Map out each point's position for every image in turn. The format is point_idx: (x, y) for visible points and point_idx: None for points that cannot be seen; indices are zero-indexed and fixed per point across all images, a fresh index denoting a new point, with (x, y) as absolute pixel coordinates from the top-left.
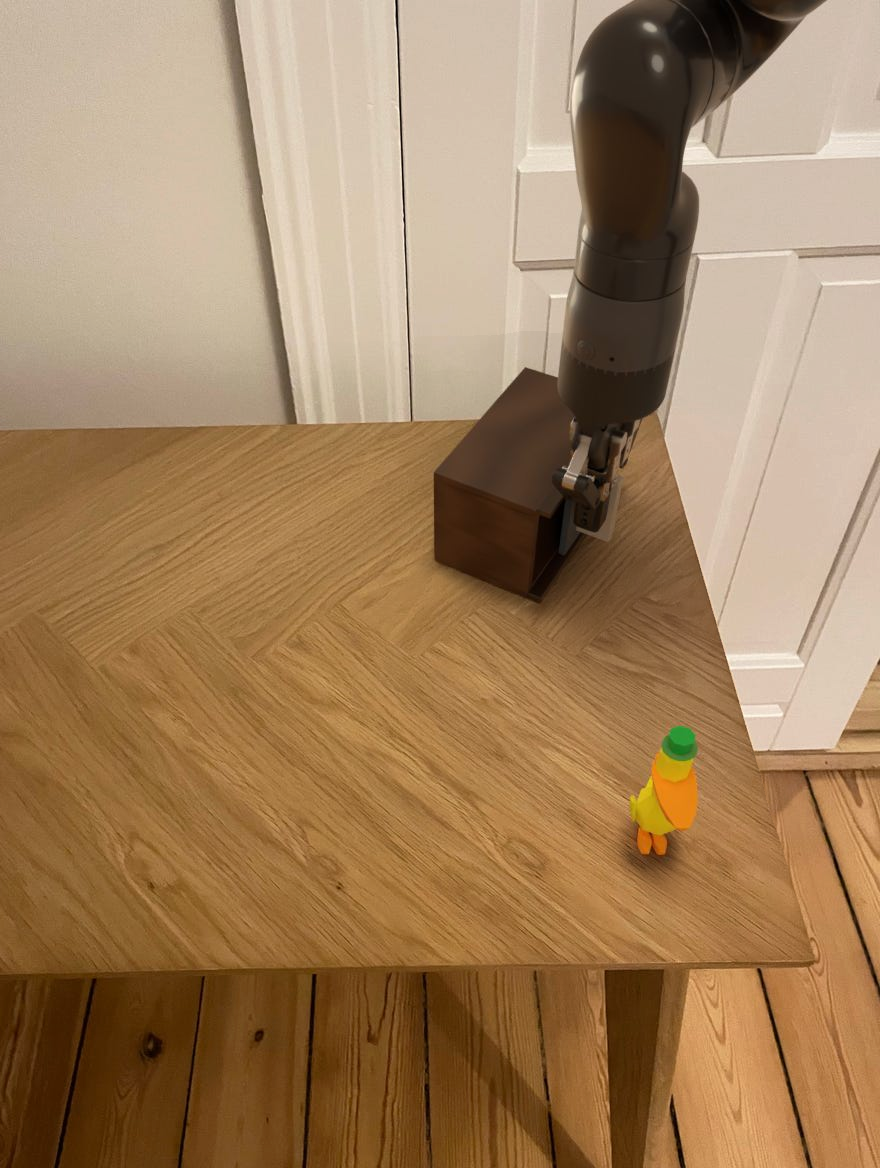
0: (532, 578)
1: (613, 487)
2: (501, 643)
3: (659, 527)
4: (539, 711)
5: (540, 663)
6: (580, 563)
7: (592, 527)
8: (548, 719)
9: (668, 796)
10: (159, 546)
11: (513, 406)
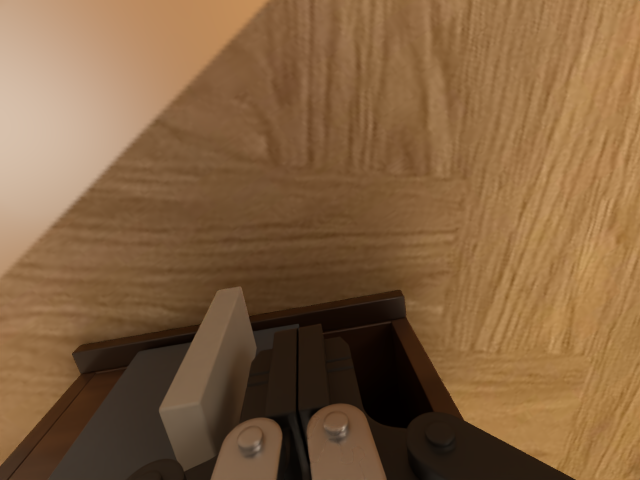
0: (397, 332)
1: (208, 399)
2: (505, 285)
3: (94, 237)
4: (602, 157)
5: (511, 215)
6: (277, 292)
7: (339, 343)
8: (610, 135)
9: None
10: None
11: None
